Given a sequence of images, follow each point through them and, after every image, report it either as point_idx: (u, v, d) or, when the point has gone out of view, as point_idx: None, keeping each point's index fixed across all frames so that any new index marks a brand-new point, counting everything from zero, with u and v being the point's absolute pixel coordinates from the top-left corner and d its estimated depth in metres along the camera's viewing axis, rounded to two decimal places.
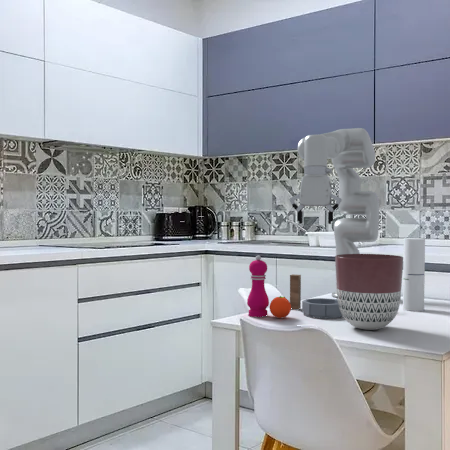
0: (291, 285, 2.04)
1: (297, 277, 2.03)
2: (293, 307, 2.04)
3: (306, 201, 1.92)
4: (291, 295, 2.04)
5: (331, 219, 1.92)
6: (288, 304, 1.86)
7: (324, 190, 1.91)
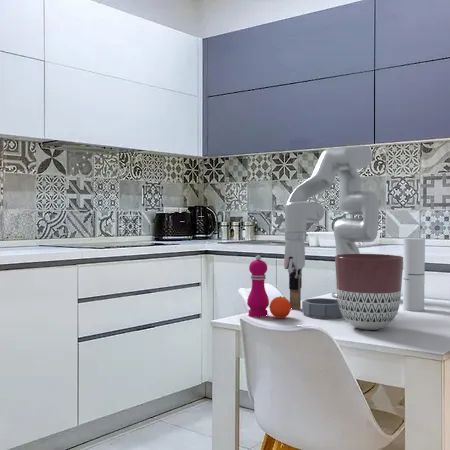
0: None
1: (297, 277, 2.03)
2: (293, 307, 2.04)
3: (299, 265, 2.02)
4: (291, 295, 2.04)
5: None
6: (288, 304, 1.86)
7: (304, 253, 2.07)
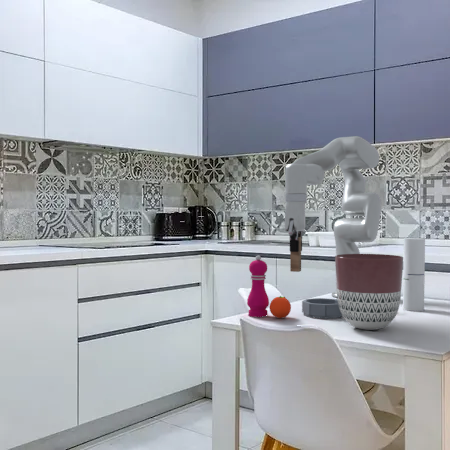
0: None
1: None
2: (294, 269, 2.04)
3: (299, 227, 2.01)
4: (291, 257, 2.04)
5: None
6: (288, 304, 1.86)
7: (304, 216, 2.07)
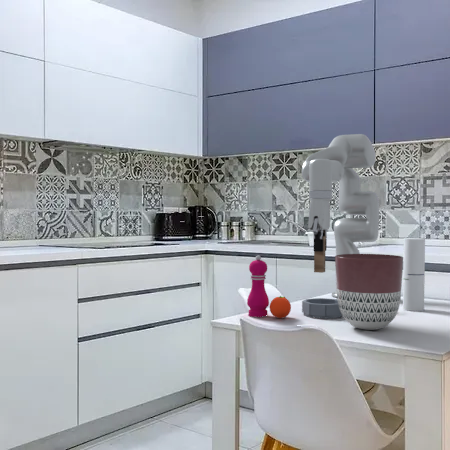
0: None
1: (322, 238, 1.93)
2: (317, 270, 1.94)
3: (324, 225, 1.91)
4: (315, 257, 1.94)
5: None
6: (288, 304, 1.86)
7: (329, 214, 1.96)
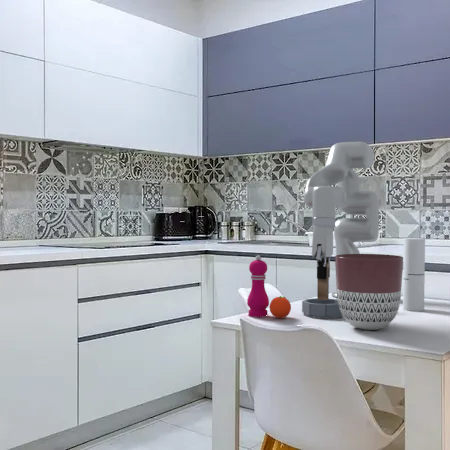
0: None
1: None
2: (321, 297, 1.92)
3: (327, 253, 1.90)
4: (319, 285, 1.93)
5: None
6: (288, 304, 1.86)
7: (332, 241, 1.95)
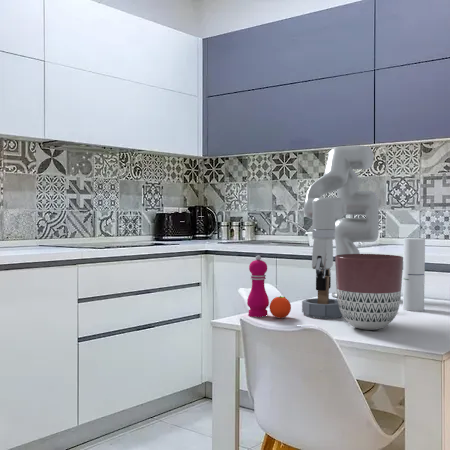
0: None
1: (326, 279, 1.92)
2: None
3: (327, 265, 1.90)
4: (319, 298, 1.93)
5: None
6: (288, 304, 1.86)
7: (332, 252, 1.95)
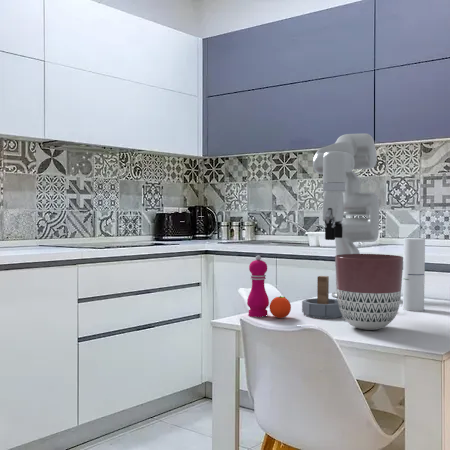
0: (319, 287, 1.93)
1: (325, 279, 1.92)
2: None
3: (338, 217, 1.94)
4: (319, 298, 1.93)
5: None
6: (288, 304, 1.86)
7: None
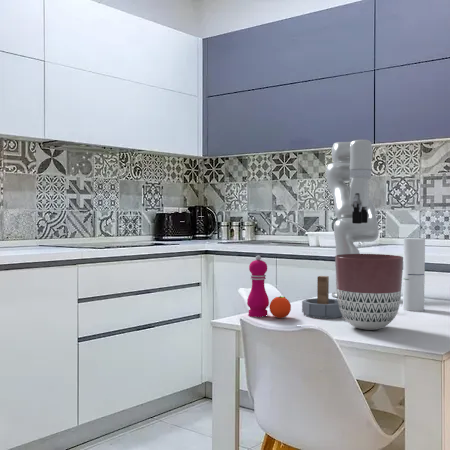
0: (319, 287, 1.93)
1: (325, 279, 1.92)
2: None
3: (364, 202, 2.04)
4: (319, 298, 1.93)
5: None
6: (288, 304, 1.86)
7: (368, 192, 2.09)
